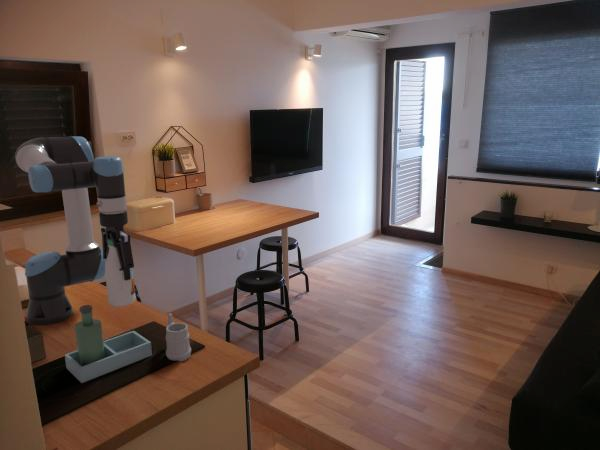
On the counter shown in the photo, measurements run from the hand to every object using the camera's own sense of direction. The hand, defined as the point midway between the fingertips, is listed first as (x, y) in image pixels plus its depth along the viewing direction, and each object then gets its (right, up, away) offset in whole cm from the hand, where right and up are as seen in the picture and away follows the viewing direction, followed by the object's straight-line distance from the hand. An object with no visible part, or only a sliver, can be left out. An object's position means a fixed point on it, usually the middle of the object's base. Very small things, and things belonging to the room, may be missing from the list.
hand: (120, 286), depth 142 cm
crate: (-4, -23, +2) cm, 24 cm away
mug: (+15, -22, +7) cm, 28 cm away
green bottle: (-7, -24, -2) cm, 25 cm away
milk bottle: (0, -5, +1) cm, 5 cm away
